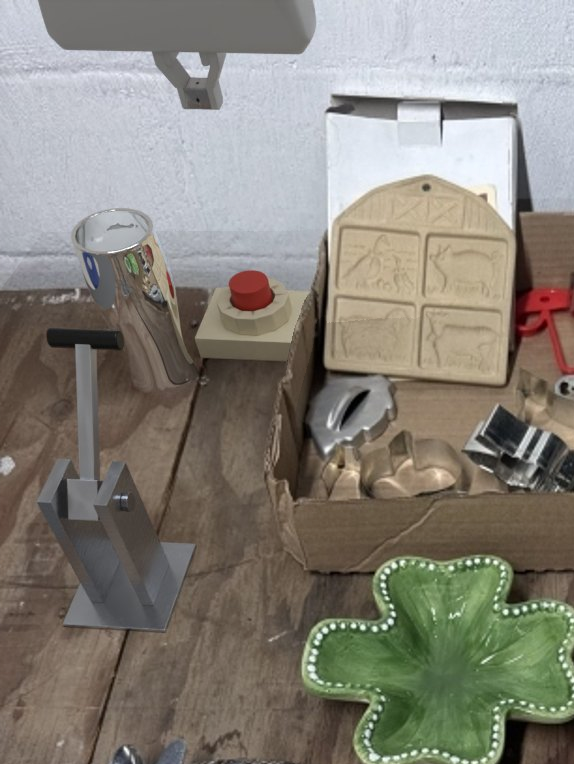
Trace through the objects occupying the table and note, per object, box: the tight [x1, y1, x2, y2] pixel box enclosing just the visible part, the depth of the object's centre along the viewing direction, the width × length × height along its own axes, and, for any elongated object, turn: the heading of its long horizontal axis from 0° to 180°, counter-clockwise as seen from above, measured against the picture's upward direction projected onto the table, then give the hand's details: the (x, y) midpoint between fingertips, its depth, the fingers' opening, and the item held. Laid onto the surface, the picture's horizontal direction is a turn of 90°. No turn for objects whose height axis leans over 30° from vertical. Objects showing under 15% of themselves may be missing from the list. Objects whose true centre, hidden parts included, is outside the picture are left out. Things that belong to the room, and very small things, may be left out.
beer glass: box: [70, 207, 200, 396], centre depth 93 cm, size 7×7×15 cm
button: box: [228, 269, 272, 311], centre depth 100 cm, size 4×4×2 cm
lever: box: [45, 327, 124, 521], centre depth 75 cm, size 13×5×2 cm
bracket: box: [36, 458, 197, 633], centre depth 80 cm, size 9×8×12 cm
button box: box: [194, 277, 310, 362], centre depth 102 cm, size 10×8×4 cm
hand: (203, 106), depth 86 cm, fingers closed
